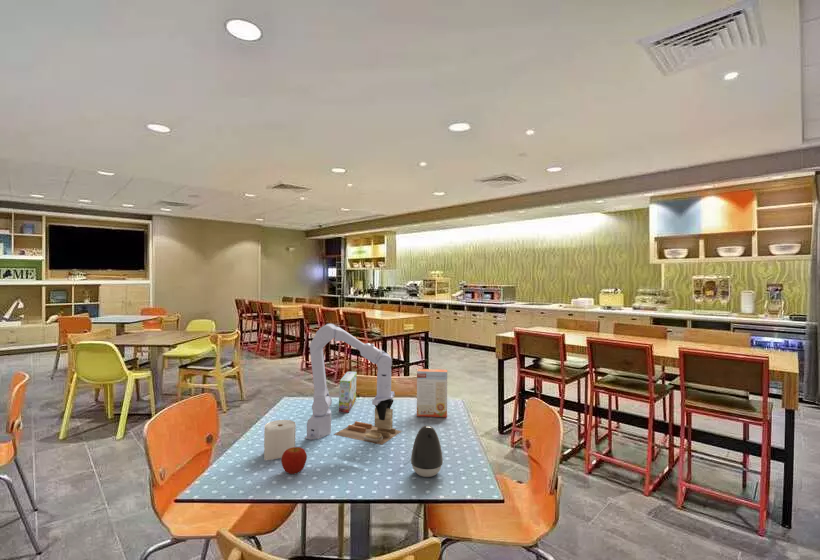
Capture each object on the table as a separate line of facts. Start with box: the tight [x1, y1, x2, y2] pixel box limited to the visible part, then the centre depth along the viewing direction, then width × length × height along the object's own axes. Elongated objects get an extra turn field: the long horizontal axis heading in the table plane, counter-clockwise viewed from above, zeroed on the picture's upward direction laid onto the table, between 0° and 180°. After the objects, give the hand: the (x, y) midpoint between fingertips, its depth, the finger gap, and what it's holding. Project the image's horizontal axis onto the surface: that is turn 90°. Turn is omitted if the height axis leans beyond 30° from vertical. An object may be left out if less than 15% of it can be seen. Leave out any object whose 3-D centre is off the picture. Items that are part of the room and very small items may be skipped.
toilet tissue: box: [263, 419, 297, 461], centre depth 147 cm, size 11×12×10 cm
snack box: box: [338, 371, 358, 414], centre depth 205 cm, size 21×6×15 cm, turn 179°
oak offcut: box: [365, 432, 382, 439], centre depth 159 cm, size 4×5×1 cm
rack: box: [333, 421, 403, 446], centre depth 165 cm, size 16×22×3 cm
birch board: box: [374, 407, 394, 430], centre depth 165 cm, size 2×7×8 cm, turn 64°
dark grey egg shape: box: [410, 425, 444, 478], centre depth 133 cm, size 10×10×15 cm
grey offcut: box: [364, 436, 383, 443], centre depth 159 cm, size 4×6×1 cm, turn 64°
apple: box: [280, 446, 308, 475], centre depth 133 cm, size 8×8×8 cm
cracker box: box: [416, 368, 448, 418], centre depth 192 cm, size 14×6×21 cm, turn 84°
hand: (383, 418), depth 165 cm, fingers closed on birch board, 2 cm apart
